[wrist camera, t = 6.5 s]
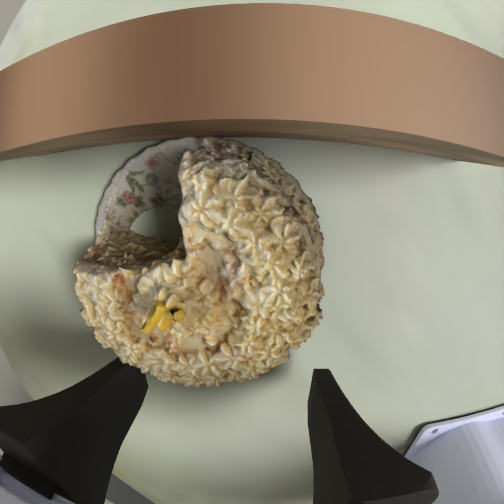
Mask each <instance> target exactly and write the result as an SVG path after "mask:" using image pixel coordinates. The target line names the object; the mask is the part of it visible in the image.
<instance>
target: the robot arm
mask: <svg viewBox="0 0 504 504" xmlns="http://www.w3.org/2000/svg"><path fill="white" fill-rule="evenodd" d="M147 389H148V384H147V380H146V376H145V373H141V369H140V368H137V367H136V366H132V365H131V366H130V364H129V363H126V364H124V363H122V361H120V358H119V357H118V358H117V359H115V360H114V361H112V362H111V363H109V364H108V365H106V366H105V367H103V368H102V369H100V370H98V371H97V372H95V373H94V374H92V375H91V376H89V377H87V378H85V379H84V380H82V381H80V382H79V383H77V384H75V385H73V386H71V387H69V388H67V389H65V390H63V391H60V392H58V393H56V394H53V395H50V396H47V397H44V398H42V399H38V400H35V401H32V402H27V403H22V404H17V405H9V406H2V407H1V406H0V448H1V449H2V451H3V452H4V454H3V455H2V456H1V455H0V504H104V502H105V496H106V492H107V488H108V484H109V480H110V476H111V473H112V470H113V467H114V464H115V461H116V458H117V455H118V452H119V449H120V447H121V445H122V442H123V440H124V438H125V436H126V435H127V433H128V431H129V429H130V427H131V425H132V423H133V421H134V419H135V417H136V416H137V414H138V412H139V410H140V408H141V406H142V403H143V401H144V398H145V395H146V392H147ZM308 428H309V436H310V444H311V452H312V460H313V470H314V495H313V504H504V406H501V407H497V408H494V409H491V410H487V411H484V412H480V413H477V414H473V415H469V416H465V417H461V418H457V419H452V420H448V421H443V422H438V423H433V424H428V425H426V426H424V427H423V428H422V429H421V431H420V432H419V434H418V436H417V437H416V439H415V440H414V442H413V444H412V445H411V447H410V448H409V450H408V451H407V453H406V454H405V456H402V455H401V454H399V453H398V452H397V451H396V450H394V449H393V448H392V447H391V446H389V445H388V444H387V443H386V442H384V441H383V440H382V439H381V438H380V437H379V436H378V435H377V434H376V433H375V432H374V431H373V430H372V429H371V428H370V427H369V426H368V425H367V424H366V423H365V421H364V420H363V419H362V418H361V417H360V415H359V414H358V413H357V412H356V410H355V409H354V408H353V406H352V405H351V403H350V402H349V401H348V399H347V398H346V396H345V395H344V393H343V392H342V390H341V388H340V387H339V385H338V384H337V382H336V380H335V378H334V377H333V375H332V373H331V371H330V370H329V369H314V371H313V376H312V382H311V388H310V393H309V398H308Z"/></svg>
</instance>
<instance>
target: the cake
mask: <svg viewBox="0 0 504 504" xmlns="http://www.w3.org/2000/svg"><path fill="white" fill-rule="evenodd" d="M283 169H284V168H282V166H281V164H280V163H278V162H277V161H275V160H273V159H272V158H268V157H266V156H265V155H264V153H262V152H261V151H260V150H258V149H256V148H251V147H247V146H246V145H244V144H243V143H241V142H239V141H236V140H235V141H234V140H228V139H225V140H224V139H222V138H220V137H198V138H197V137H186V138H179V139H168V140H166V141H164V142H161V143H160V144H158V145H154V146H149V147H148V148H147V147H146V149H144V151H142V153H141V154H138V155H137V156H136V157H132V158H130V159H129V161H128V162H127V163H126V165H125V166H124V168H122V169H120V170H118V171H117V173H116V174H115V176H114V177H113V179H112V182H111V184H110V185H108V186H107V189H106V190H105V192H104V197H103V199H102V201H101V203H100V205H99V207H98V216H97V218H96V222H95V230H96V237H95V246H93V245H91V246H90V247H89V248H87V251H88V253H87V254H86V255H85V256H84V258H82V259H80V260H78V261H77V263H76V265H75V266H74V268H73V269H72V271H73V273H74V274H75V275H76V280H77V281H76V283H75V285H74V288H75V294H76V295H77V296H78V298H79V300H80V301H81V302H82V303H83V306H84V307H83V309H80V311H81V316H82V317H83V319H84V320H85V324H86V325H88V326H90V327H92V326H93V328H94V330H93V332H92V335H95V338H96V339H97V341H98V342H99V343H101V344H102V347H103V348H111V349H113V351H114V352H115V354H116V355H118V356H119V358H120V361H122V363H124V364H126V363H129V364H130V366H131V365H132V366H136V367H137V368H140V369H141V373H147V372H150V376H155V377H156V378H158V379H159V380H160V381H162V382H164V383H166V382H169V381H170V382H172V383H176V384H178V383H181V384H182V385H183V386H185V387H189V386H195V387H199V386H201V385H204V384H205V385H206V386H207V387H211V386H213V387H220V386H222V384H223V383H224V382H233V381H235V380H237V381H239V382H245V381H250V380H252V379H258V378H259V376H260V374H262V373H266V372H269V370H270V369H271V368H274V367H276V366H278V365H280V364H282V363H284V362H287V360H289V357H290V353H289V349H290V348H294V349H296V350H297V349H298V348H299V347H300V344H301V341H304V342H306V339H307V338H309V337H310V336H311V330H314V329H315V327H316V326H317V325H319V322H318V319H322V318H323V317H322V310H321V309H320V307H319V304H318V302H320V299H322V296H324V290H323V285H322V283H321V270H322V267H323V266H324V262H325V261H324V256H323V252H322V247H323V244H324V243H323V240H324V238H323V237H322V236H323V234H322V232H320V231H319V229H320V226H319V222H318V220H317V219H318V218H319V216H318V215H317V214H316V211H315V210H316V209H315V207H314V205H313V203H312V199H311V198H309V197H308V196H307V195H306V194H305V193H304V192H303V191H301V190H302V189H301V186H300V184H299V182H298V180H296V179H295V178H294V177H293V176H292V175H290V174H288V173H286V172H285V170H283ZM168 189H170V190H169V192H170V193H169V194H168V195H167V194H166V191H167V190H168ZM177 194H179V196H178V197H176V198H175V199H174V200H173V201H171V203H172V204H175V207H176V208H177V207H179V213H178V219H179V223H180V225H181V228H182V233H183V235H181V236H180V237H179V239H178V242H177V243H173V242H170V241H167V242H165V241H164V239H163V237H162V235H157V236H155V237H153V238H149V237H145V236H143V235H140V234H136V233H135V232H134V231H131V230H130V227H131V225H132V223H133V221H134V220H135V219H136V218H137V217H138V216H139V215H140V214H142V213H143V211H147V210H150V209H151V208H153V207H154V208H155V207H157V208H156V209H158V206H160V207H162V206H165V207H164V208H165V210H167V209H168V210H171V207H170V208H167V205H168V206H170V204H169V203H167V201H168V200H169V199H170V198H171V197H172V195H177ZM160 216H161V217H162V218H165V217H164V216H163V215H161V214H160ZM174 309H178V311H175V310H174ZM170 310H174V311H173V312H171V311H170ZM170 312H171V313H170Z"/></svg>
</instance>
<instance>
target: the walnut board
mask: <svg viewBox="0 0 504 504" xmlns="http://www.w3.org/2000/svg"><path fill="white" fill-rule="evenodd" d="M186 137H197V138H198V137H264V138H290V139H308V140H322V141H334V142H344V143H354V144H363V145H371V146H378V147H386V148H393V149H399V150H406V151H412V152H417V153H423V154H429V155H434V156H439V157H444V158H449V159H453V160H458V161H464V162H472V163H479V164H487V165H493V166H500V167H504V59H503V58H501V57H499V56H497V55H495V54H493V53H491V52H489V51H487V50H484V49H482V48H480V47H478V46H475V45H473V44H471V43H468V42H466V41H463V40H461V39H458V38H455V37H453V36H450V35H447V34H445V33H442V32H439V31H436V30H433V29H430V28H426V27H423V26H420V25H417V24H413V23H409V22H406V21H402V20H398V19H394V18H390V17H385V16H381V15H376V14H371V13H366V12H360V11H354V10H348V9H341V8H333V7H325V6H315V5H302V4H281V3H249V4H228V5H215V6H205V7H196V8H188V9H181V10H175V11H169V12H164V13H158V14H153V15H148V16H144V17H139V18H135V19H131V20H127V21H123V22H119V23H116V24H112V25H109V26H105V27H102V28H99V29H96V30H93V31H90V32H87V33H84V34H81V35H78V36H75V37H73V38H70V39H67V40H65V41H62V42H60V43H57V44H55V45H53V46H50V47H48V48H46V49H43V50H41V51H39V52H37V53H35V54H32V55H30V56H28V57H26V58H24V59H22V60H20V61H18V62H16V63H14V64H13V65H11V66H9V67H7V68H5V69H3V70H2V71H0V161H2V160H9V159H16V158H23V157H31V156H39V155H45V154H50V153H56V152H62V151H67V150H74V149H80V148H87V147H94V146H102V145H110V144H118V143H128V142H138V141H150V140H164V139H179V138H186Z"/></svg>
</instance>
